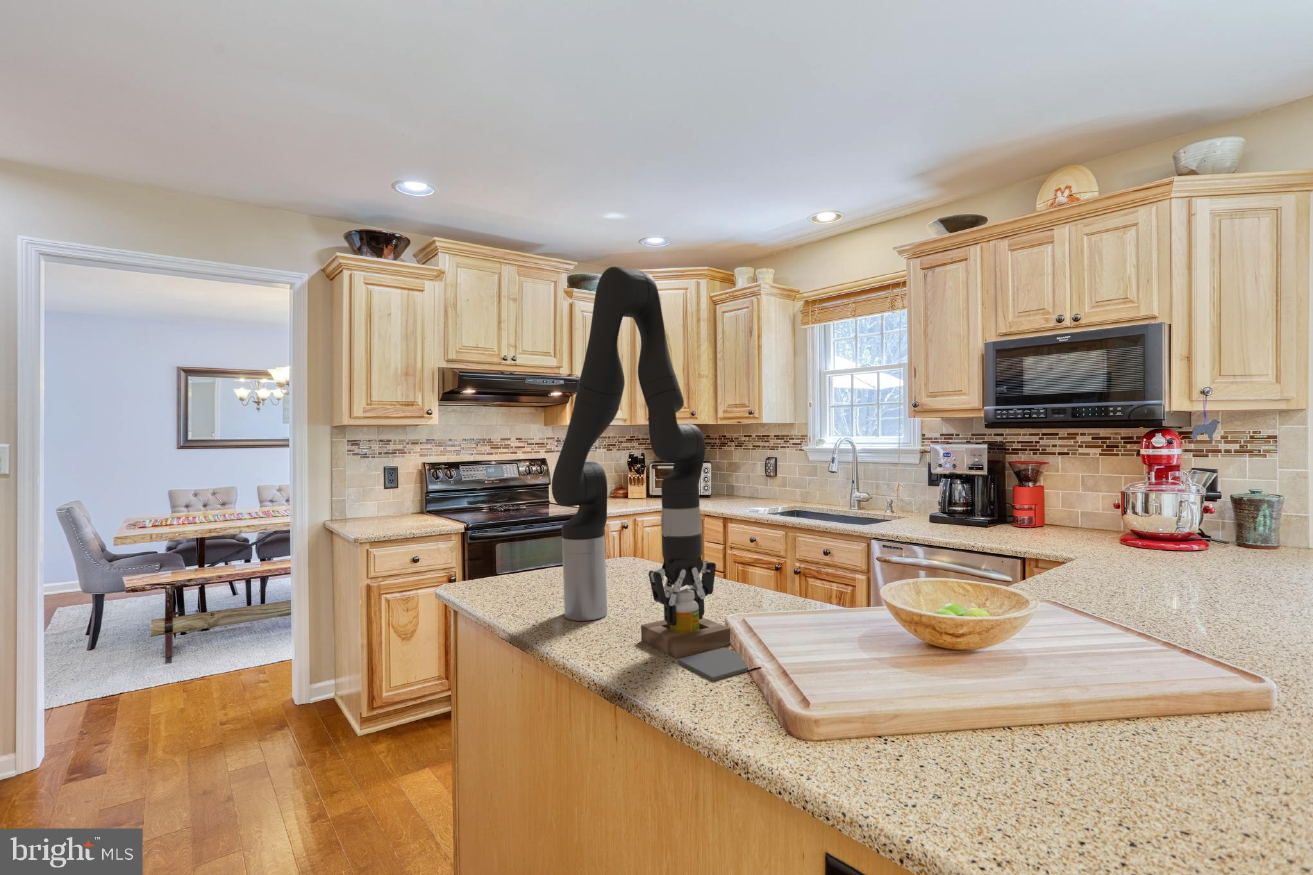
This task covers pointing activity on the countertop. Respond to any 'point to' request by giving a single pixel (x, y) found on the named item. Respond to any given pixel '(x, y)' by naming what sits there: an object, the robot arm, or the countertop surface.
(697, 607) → the supplement bottle
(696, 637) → the frame
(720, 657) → the mat
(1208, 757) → the countertop surface
